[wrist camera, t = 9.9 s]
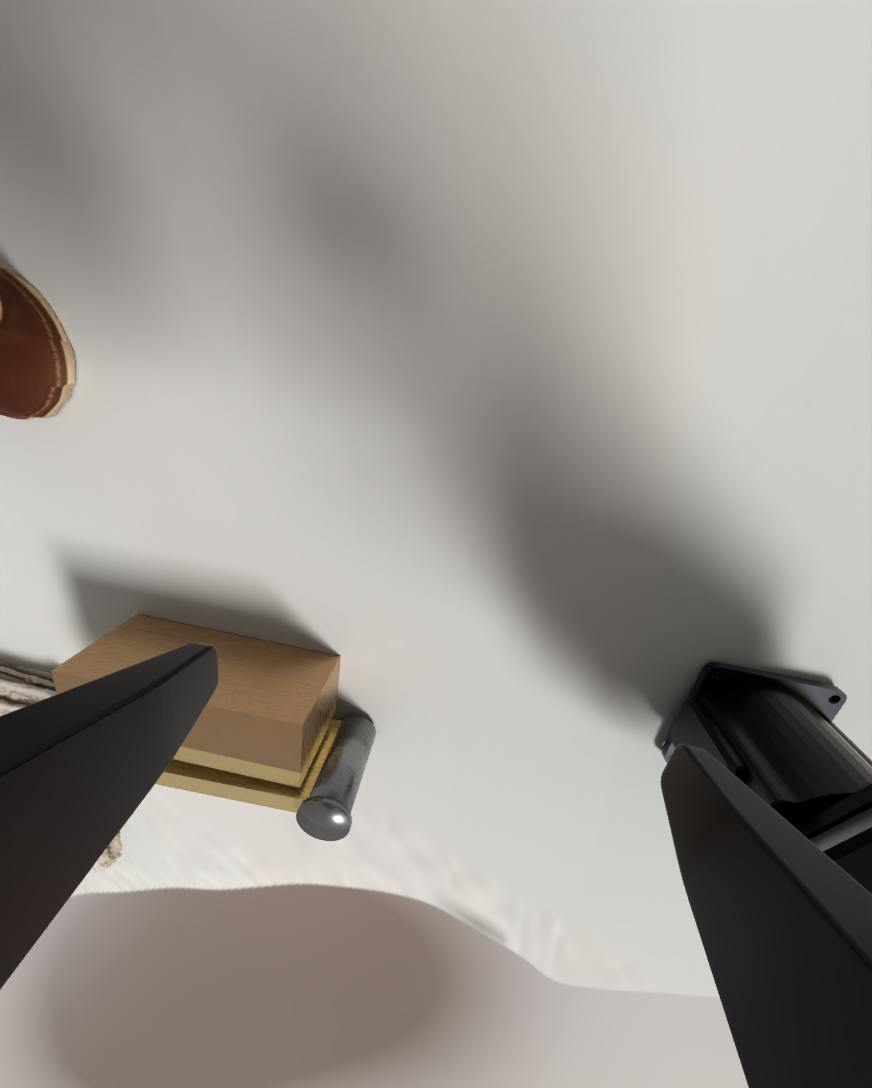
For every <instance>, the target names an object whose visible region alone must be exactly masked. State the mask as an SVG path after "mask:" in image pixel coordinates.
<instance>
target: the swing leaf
mask: <svg viewBox="0 0 872 1088" xmlns="http://www.w3.org/2000/svg"><path fill="white" fill-rule="evenodd" d="M375 736H376V730H375V727H374V725H373V724H372V723H371V722H370V721H369V720H367V719H366V718H364V717H361V716H349V717H346V718H344V719H343V720H342V721H340V720H335V719H332V720H331V722H330V725H329V727H328V729H327V731H326V733H325V735H324V737H323V739H322V742H321V744H320V746H319V748H318V750H317V752H316V754H315V757H314V759H313V761H312V763H311V765H310V767H309V769H308V772H307V774H306V776H305V778H304V780H303V782H302V784H301V787H300V788H299V787H294V786H290V785H285V784H281V783H277V782H272V781H268V780H263V779H259V778H255V777H250V776H246V775H241V774H237V773H233V772H228V771H224V770H219V769H215V768H210V767H206V766H202V765H197V764H193V763H188V762H184V761H180V760H175V759H172V761H171V762H170V764H169V765H168V767H167V768H166V769H165V771H164V772H163V774H162V775H161V776H160V778H159V779H158V780H157V782H156V783H155V784H158V785H163V786H168V787H172V788H177V789H182V790H187V791H192V792H197V793H202V794H207V795H212V796H217V797H222V798H227V799H232V800H237V801H242V802H246V803H251V804H256V805H261V806H266V807H271V808H276V809H281V810H286V811H291V812H296V813H297V814H296V819H297V822H298V824H299V826H300V827H301V828H302V830H303V831H305V832H306V833H307V834H309V835H310V836H312V837H314V838H317V839H320V840H325V841H336V840H340V839H342V838H344V837H345V836H346V835H347V834H348V833H349V830H350V827H351V824H352V817H351V814H350V813H351V810H352V807H353V804H354V801H355V798H356V795H357V791H358V788H359V785H360V782H361V779H362V776H363V773H364V770H365V767H366V763H367V760H368V757H369V754H370V751H371V748H372V745H373V742H374V739H375Z"/></svg>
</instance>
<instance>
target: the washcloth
mask: <svg viewBox="0 0 872 1088" xmlns="http://www.w3.org/2000/svg"><path fill="white" fill-rule="evenodd" d="M56 694H57V693H56V689H55V685H54V681H53V677H52V673H48V672H45V671H41V670H38V669H34V668H28V667H24V666H19V665H14V664H9V663H5V662H2V661H0V716H2V715H4V714H7V713H10V712H12V711H15V710H17V709H20V708H23V707H25V706H28V705H30V704H33V703H36V702H38V701H41V700H43V699H46V698H49V697H51V696H54V695H56ZM121 848H122V845H121V844H120V835H119V832H118V834H117V835H116V836H115V838H114V839H113V840H112V842H111V843H110V844H109V846H108V847H107V848H106V850H105V851H104V852H103V854H102V855H101V856H100V858H99V859H98V860H97V862H96V863H95V864H94V866H93V867H92V868H91V869H94V870H95V871H98V870H100V871H102V870H104V869H105V868H108V867H110V866H111V865H112V864H113V863H114V862H115V861H116V860H117V858H119V857H121V855H122V854H121V853H120V851H121Z"/></svg>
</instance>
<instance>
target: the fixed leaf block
mask: <svg viewBox="0 0 872 1088" xmlns="http://www.w3.org/2000/svg"><path fill="white" fill-rule="evenodd" d="M192 642H200V643H205V644H209V645H213V646H215V648H216V649H217V657H218V674H219V680H218V685H217V687H216V690H215V692H214V693H213V695H212V697H211V698H210V700H209V701H208V703H207V705H206V706H205V708H204V709H203V711H202V713H201V714H200V716H199V718H198V719H197V721H196V722H195V724H194V726H193V727H192V729H191V731H190V732H189V734H188V735H187V737H186V739H185V740H184V742H183V744H182V745H181V747H180V748H179V750H178V752H177V753H176V755H175V756H174V758H173V759H175V760H180V761H184V762H188V763H193V764H197V765H202V766H206V767H210V768H215V769H219V770H224V771H228V772H233V773H237V774H241V775H246V776H250V777H255V778H259V779H263V780H268V781H272V782H277V783H281V784H285V785H290V786H294V787H299V788H300V787H301V784H302V782H303V780H304V778H305V776H306V774H307V772H308V769H309V767H310V765H311V763H312V761H313V759H314V757H315V754H316V752H317V750H318V748H319V746H320V744H321V742H322V739H323V737H324V735H325V733H326V731H327V729H328V727H329V725H330V722H331V720H332V718H333V716H334V714H335V712H336V703H337V691H338V678H339V666H340V656H336V655H331V654H326V653H321V652H317V651H312V650H307V649H302V648H297V647H293V646H288V645H283V644H278V643H273V642H269V641H264V640H259V639H254V638H249V637H244V636H240V635H235V634H230V633H225V632H220V631H216V630H211V629H206V628H201V627H196V626H192V625H187V624H182V623H177V622H172V621H168V620H163V619H158V618H153V617H148V616H143V615H139V614H137V615H136V616H134V617H133V618H131V619H130V620H128V621H127V622H125V623H124V624H122V625H120V626H119V627H117V628H116V629H114V630H113V631H111V632H110V633H108V634H107V635H105V636H104V637H102V638H101V639H99V640H97V641H96V642H94V643H93V644H91V645H90V646H88V647H87V648H85V649H84V650H82V651H81V652H79V653H78V654H76V655H74V656H73V657H71V658H70V659H68V660H67V661H65V662H64V663H62V664H61V665H59V666H58V667H56V668H55V669H53V670H51V673H52V677H53V681H54V685H55V689H56V693H57V694H59V693H62V692H64V691H67V690H69V689H72V688H75V687H77V686H80V685H82V684H85V683H88V682H90V681H93V680H95V679H98V678H101V677H103V676H106V675H108V674H111V673H114V672H116V671H119V670H121V669H124V668H127V667H129V666H132V665H134V664H137V663H140V662H142V661H145V660H147V659H150V658H153V657H155V656H158V655H160V654H163V653H166V652H168V651H171V650H173V649H176V648H179V647H181V646H184V645H186V644H189V643H192Z"/></svg>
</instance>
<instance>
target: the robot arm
mask: <svg viewBox="0 0 872 1088" xmlns="http://www.w3.org/2000/svg"><path fill="white" fill-rule="evenodd" d="M714 672H717V673H716V674H714V675H712V674H713V673H714ZM218 680H219V674H218V657H217V649H216V648H215V646H213V645H209V644H205V643H200V642H192V643H189V644H186V645H184V646H181V647H179V648H176V649H173V650H171V651H168V652H166V653H163V654H160V655H158V656H155V657H153V658H150V659H147V660H145V661H142V662H140V663H137V664H134V665H132V666H129V667H127V668H124V669H121V670H119V671H116V672H114V673H111V674H108V675H106V676H103V677H101V678H98V679H95V680H93V681H90V682H88V683H85V684H82V685H80V686H77V687H75V688H72V689H69V690H67V691H64V692H62V693H59V694H56V695H54V696H51V697H49V698H46V699H43V700H41V701H38V702H36V703H33V704H30V705H28V706H25V707H23V708H20V709H17V710H15V711H12V712H10V713H7V714H4V715H2V716H0V989H1V988H2V986H3V985H4V984H5V983H6V981H7V980H8V979H9V977H10V976H11V975H12V973H13V972H14V971H15V969H16V967H18V965H19V964H20V963H21V961H22V960H23V959H24V957H25V956H26V954H27V953H28V952H29V951H30V949H31V948H32V947H33V945H34V944H35V943H36V941H37V940H38V939H39V937H40V936H41V935H42V933H43V932H44V931H45V929H46V928H47V927H48V925H49V924H50V923H51V921H52V920H53V919H54V917H55V916H56V914H57V913H58V912H59V911H60V909H61V908H62V907H63V905H64V904H65V903H66V901H67V900H68V899H69V897H70V896H71V895H72V893H73V892H74V891H75V889H76V888H77V887H78V885H79V884H80V883H81V881H82V880H83V879H84V877H85V876H86V875H87V873H88V872H89V871H90V869H91V868H92V867H93V866H94V864H95V863H96V862H97V860H98V859H99V858H100V856H101V855H102V854H103V852H104V851H105V850H106V848H107V847H108V846H109V844H110V843H111V842H112V840H113V839H114V838H115V836H116V835H117V834H118V832H119V831H120V830H121V828H122V827H123V826H124V824H125V823H126V822H127V820H128V819H129V818H130V816H131V815H132V814H133V812H134V811H135V810H136V808H137V807H138V806H139V804H140V803H141V802H142V800H143V799H144V798H145V796H146V795H147V794H148V792H149V791H150V790H151V788H152V787H153V786H154V784H155V783H156V782H157V780H158V779H159V778H160V776H161V775H162V774H163V772H164V771H165V769H166V768H167V767H168V765H169V764H170V762H171V761H172V759H173V758H174V756H175V755H176V753H177V752H178V750H179V748H180V747H181V745H182V744H183V742H184V740H185V739H186V737H187V735H188V734H189V732H190V731H191V729H192V727H193V726H194V724H195V722H196V721H197V719H198V718H199V716H200V714H201V713H202V711H203V709H204V708H205V706H206V705H207V703H208V701H209V700H210V698H211V697H212V695H213V693H214V692H215V690H216V687H217V685H218ZM831 696H832V697H831ZM846 699H847V697H846V694H845V693H844V692H842V691H841V690H840V689H839V688H838V687H836V686H833V685H828V684H823V683H818V682H813V681H808V680H803V679H798V678H793V677H788V676H783V675H778V674H773V673H768V672H763V671H758V670H753V669H748V668H743V667H738V666H733V665H728V664H723V663H718V662H712V663H708V664H707V665H705V666H704V667H703V669H702V671H701V673H700V675H699V677H698V679H697V681H696V683H695V685H694V687H693V689H692V691H691V693H690V695H689V697H688V699H687V700H686V701H685V703H684V705H683V707H682V709H681V711H680V713H679V715H678V717H677V719H676V721H675V723H674V725H673V727H672V729H671V731H670V733H669V737H668V739H667V741H666V743H665V745H664V747H663V749H662V755H663V757H664V759H665V761H666V762H667V765H666V767H665V769H664V771H663V773H662V776H661V788H662V793H663V798H664V802H665V806H666V811H667V815H668V820H669V824H670V829H671V833H672V837H673V842H674V846H675V851H676V855H677V860H678V864H679V868H680V872H681V876H682V880H683V883H684V886H685V890H686V893H687V896H688V900H689V903H690V906H691V909H692V912H693V915H694V918H695V921H696V925H697V928H698V931H699V934H700V937H701V940H702V943H703V946H704V949H705V953H706V956H707V959H708V962H709V965H710V968H711V971H712V974H713V977H714V981H715V984H716V987H717V990H718V993H719V996H720V999H721V1002H722V1005H723V1009H724V1011H725V1014H726V1018H727V1021H728V1024H729V1027H730V1030H731V1033H732V1037H733V1039H734V1043H735V1046H736V1049H737V1052H738V1055H739V1058H740V1061H741V1064H742V1068H743V1071H744V1074H745V1077H746V1080H747V1083H748V1086H749V1088H872V761H871V760H870V759H869V758H868V757H867V756H866V755H865V754H864V753H863V752H862V751H861V750H860V749H859V748H858V747H857V746H856V745H855V744H854V743H853V742H852V741H851V740H850V739H849V738H848V737H847V736H846V735H845V734H844V733H843V732H842V731H841V730H840V729H839V728H838V727H837V726H836V725H835V724H834V723H833V722H832V720H833V719H834V717H835V716H836V715H837V713H838V712H839V710H840V709H841V707H842V706H843V704H844V703H845V701H846Z"/></svg>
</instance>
